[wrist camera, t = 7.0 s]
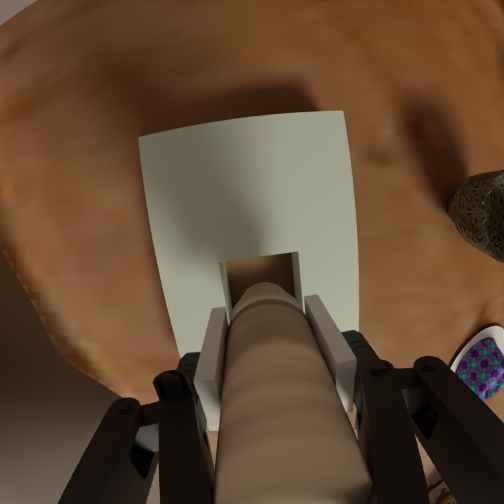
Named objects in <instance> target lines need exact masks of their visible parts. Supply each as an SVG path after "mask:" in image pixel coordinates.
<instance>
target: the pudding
mask: <svg viewBox="0 0 504 504" xmlns="http://www.w3.org/2000/svg"><path fill="white" fill-rule="evenodd" d="M486 337H492V338H494V339H495V341H496V343H495V342H494V340H493V339H492V338H488V339H486V340H485V341H482V340H481V339H483V338H486ZM480 340H481V341H480ZM478 341H479V342H478ZM475 343H476V344H475ZM474 344H475V345H474ZM496 344H497V345H496ZM473 345H474V346H473ZM472 346H473V348H472V350H471V351H470V352H468V353H466V352H467V351H468V350H469V349H470V348H471V347H472ZM464 355H465V356H464ZM463 356H464V357H463ZM461 359H462V360H461ZM460 361H461V362H460ZM459 363H460V367H459V368H458V370H457V371H456V369H457V366H458V365H459ZM450 369H451V370H453V371H454V372H455V371H456V374H457V375H458V376H459V377H460V378H461V379H462V380H463V381H464V382H465V383H466V384H467V385H468V386H469V387H470V388H471V389H472V390H473V392H474V393H475V394H476V395H477V396H478V397H479V398H480V399H481V400H482V401H483V400H485V401H486V400H489V399H491V398H492V397H493V396H494V395H496V394H497V393H498V392H499V391H500V389H501V388H502V386H503V385H504V329H503V328H502V327H500V326H491V327H488V328H486V329H484V330H483V331H481V332H480V333H478V334H477V335H476V336H475V337H474V338H473V339H472V340H470V341H469V342H468V344H467V345H466V346H465V347H464V348H463V349H462V351H461V352H460V353H459V355H458V356H457V358H456V359H455V361H454V362H453V364H452V366H451V368H450Z"/></svg>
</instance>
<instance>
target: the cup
mask: <svg viewBox="0 0 504 504" xmlns="http://www.w3.org/2000/svg"><path fill="white" fill-rule="evenodd" d="M447 210H448V214H449V217H450V218H451V220H452V221H453V222H454V223H455V226H456V228H457V230H458V232H459V233H460V235H461V236H462V237H463V238H464V239H465V240H466V241H467V242H468V243H469V244H471V245H472V246H474V247H475V248H477V249H479V250H480V251H482V252H484V253H485V254H487V255H489V256H491V257H492V258H494V259H496V260H497V261H498V262H502V263H504V170H500V171H493V172H486V173H481V174H477V175H474V176H471V177H469V178H467V179H466V180H465V181H463V182H462V184H461V185H460V186H459V188H458V189H456V190H455V191H453V192H452V193H451V195H450V197H449V199H448V203H447Z"/></svg>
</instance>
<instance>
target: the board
mask: <svg viewBox="0 0 504 504" xmlns="http://www.w3.org/2000/svg"><path fill="white" fill-rule="evenodd" d="M138 141H139V150H140V159H141V167H142V175H143V183H144V190H145V196H146V203H147V209H148V216H149V221H150V227H151V233H152V238H153V244H154V249H155V254H156V259H157V264H158V269H159V273H160V278H161V283H162V287H163V291H164V296H165V300H166V304H167V308H168V312H169V316H170V320H171V324H172V328H173V332H174V336H175V339H176V343H177V347H178V350H179V354H180V357H181V358H182V357H183V356H184V355H185V354H186V353H190V352H201V349H202V345H203V341H204V337H205V333H206V329H207V325H208V321H209V317H210V314H211V310H212V308H218V307H226V312H227V318H228V323H229V324H230V317H231V313H232V310H233V307H232V301H231V295H230V289H229V283H228V277H227V271H226V264H225V261H229V260H237V259H244V258H252V257H260V256H267V255H275V254H282V253H290V252H291V257H292V267H293V278H294V289H295V299H296V300H297V301H298V302H299V304H300V305H301V307H302V309H303V312H304V313H305V304H304V296H309V295H316V294H317V295H318V296H319V298H320V299H321V301H322V303H323V304H324V306H325V307H326V309H327V311H328V312H329V314H330V316H331V317H332V319H333V320H334V322H335V324H336V325H337V327H338V329H339V330H340V332H344V331H350V330H356V331H357V332H358V330H359V269H358V243H357V225H356V211H355V199H354V189H353V179H352V170H351V161H350V154H349V146H348V139H347V132H346V126H345V119H344V113H343V111H318V112H299V113H285V114H273V115H263V116H254V117H245V118H237V119H230V120H223V121H217V122H210V123H204V124H199V125H193V126H188V127H182V128H177V129H172V130H168V131H163V132H159V133H154V134H150V135H146V136H141V137H138Z"/></svg>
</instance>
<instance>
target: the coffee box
mask: <svg viewBox="0 0 504 504" xmlns="http://www.w3.org/2000/svg"><path fill="white" fill-rule="evenodd" d="M429 498H430V504H457V502H456V500H455V499H454V497H453V495H452V494H451V492H450V490H449V489H448V487H447V485H446V484H445V482H444V481H443V482H442V483H441V484H439V485H438V486H437V487H436V488H434V489H433V490H432V491H430V492H429Z"/></svg>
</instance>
